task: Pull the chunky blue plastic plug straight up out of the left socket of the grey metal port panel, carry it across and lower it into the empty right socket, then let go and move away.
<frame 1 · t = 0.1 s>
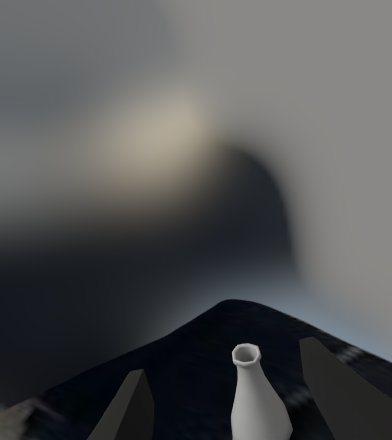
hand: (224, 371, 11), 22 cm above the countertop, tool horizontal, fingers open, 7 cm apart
flask: (261, 426, 30), on the countertop
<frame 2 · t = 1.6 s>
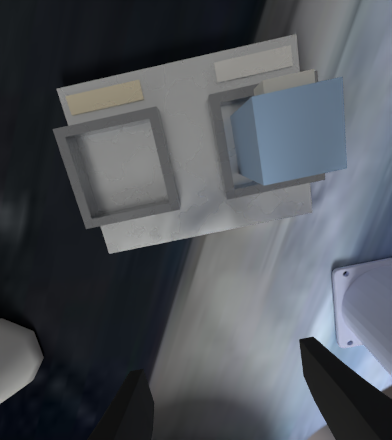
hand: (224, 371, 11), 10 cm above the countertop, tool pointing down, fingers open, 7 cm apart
panel: (193, 154, 19), on the countertop
flask: (6, 348, 24), on the countertop
plug: (262, 140, 18), point 1 cm above the countertop, touching panel
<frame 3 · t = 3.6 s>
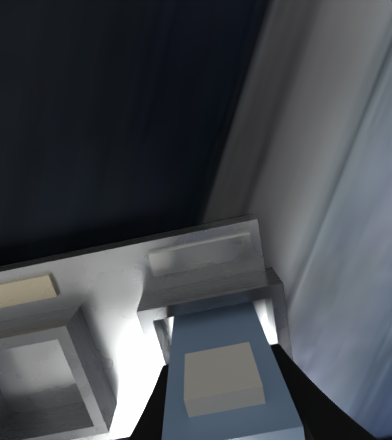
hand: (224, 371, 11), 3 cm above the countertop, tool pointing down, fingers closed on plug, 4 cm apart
panel: (133, 338, 15), on the countertop
plug: (218, 334, 14), point 1 cm above the countertop, touching gripper, panel
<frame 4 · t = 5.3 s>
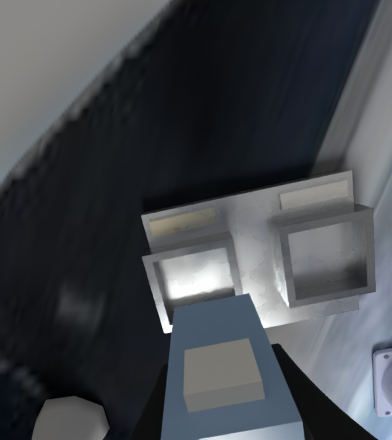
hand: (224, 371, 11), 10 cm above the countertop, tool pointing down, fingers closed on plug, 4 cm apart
panel: (253, 260, 21), on the countertop
flask: (75, 419, 26), on the countertop
plug: (218, 332, 14), point 8 cm above the countertop, touching gripper
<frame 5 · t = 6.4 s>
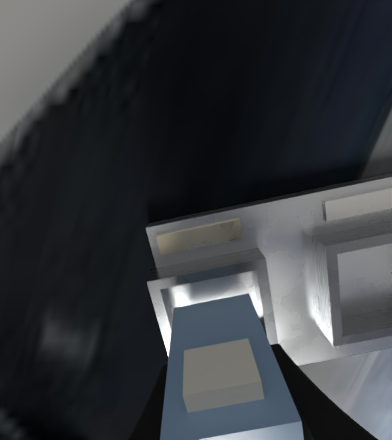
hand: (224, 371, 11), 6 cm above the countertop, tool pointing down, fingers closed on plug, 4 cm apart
panel: (285, 282, 17), on the countertop
plug: (218, 332, 14), point 4 cm above the countertop, touching gripper
when the fingers open (4 cm above the countertop, at t = 7.3 s): plug stays where it is, resting on panel.
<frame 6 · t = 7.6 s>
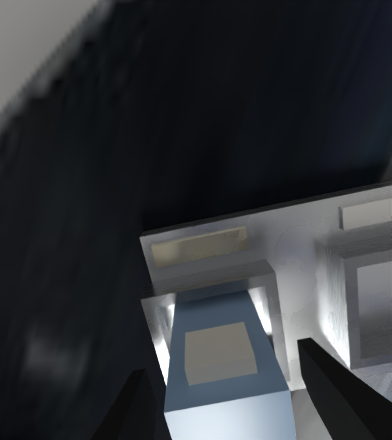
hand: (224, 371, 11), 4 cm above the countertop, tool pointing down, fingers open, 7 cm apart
panel: (295, 296, 16), on the countertop
plug: (216, 321, 15), point 1 cm above the countertop, touching panel
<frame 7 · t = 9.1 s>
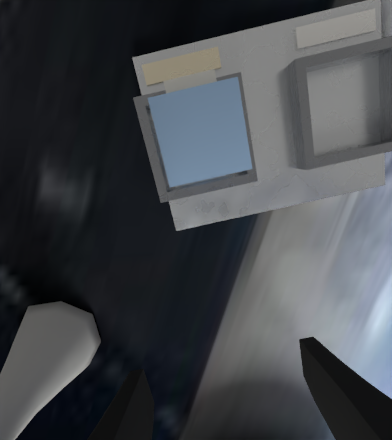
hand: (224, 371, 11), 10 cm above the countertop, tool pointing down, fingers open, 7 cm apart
panel: (263, 127, 19), on the countertop
flask: (62, 332, 23), on the countertop
plug: (197, 140, 18), point 1 cm above the countertop, touching panel
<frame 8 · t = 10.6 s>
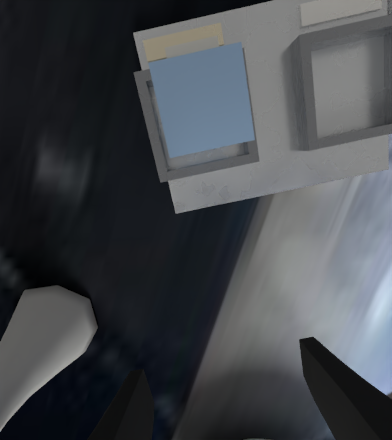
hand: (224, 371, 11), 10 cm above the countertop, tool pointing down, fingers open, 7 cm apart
panel: (266, 108, 18), on the countertop
flask: (58, 318, 23), on the countertop
plug: (198, 120, 17), point 1 cm above the countertop, touching panel
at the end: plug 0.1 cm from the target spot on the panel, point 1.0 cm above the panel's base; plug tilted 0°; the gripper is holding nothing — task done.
